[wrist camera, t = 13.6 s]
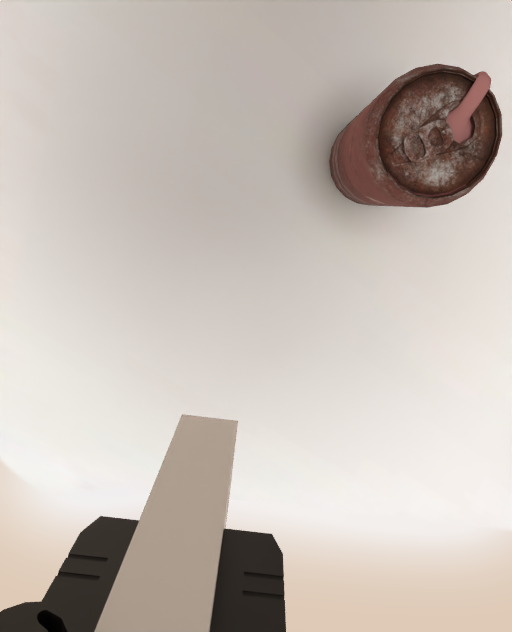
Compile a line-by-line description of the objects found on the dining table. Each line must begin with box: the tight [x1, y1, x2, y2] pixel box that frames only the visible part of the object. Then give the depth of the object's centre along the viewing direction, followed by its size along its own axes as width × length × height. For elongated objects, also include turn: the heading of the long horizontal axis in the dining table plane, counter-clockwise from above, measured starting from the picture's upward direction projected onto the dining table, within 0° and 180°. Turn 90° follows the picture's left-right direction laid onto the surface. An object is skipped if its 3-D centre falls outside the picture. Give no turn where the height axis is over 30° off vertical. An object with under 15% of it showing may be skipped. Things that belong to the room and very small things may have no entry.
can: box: [330, 64, 502, 207], centre depth 27 cm, size 6×6×14 cm
